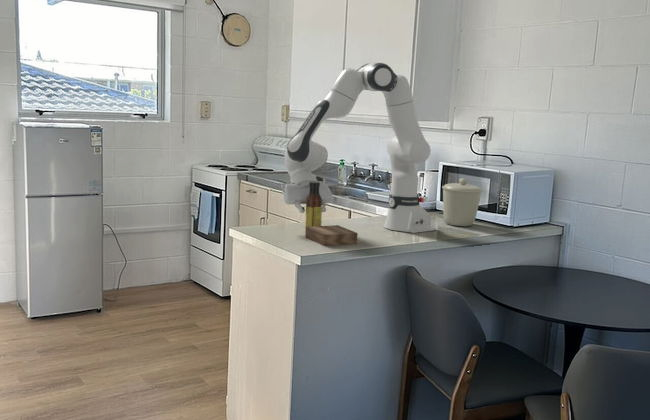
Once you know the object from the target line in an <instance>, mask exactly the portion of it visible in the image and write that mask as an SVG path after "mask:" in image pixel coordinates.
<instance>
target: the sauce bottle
mask: <svg viewBox="0 0 650 420" xmlns="http://www.w3.org/2000/svg"><path fill="white" fill-rule="evenodd" d="M309 185H310V191H309V195H308V196H307V198H306V204H305V221H304V222H305V223H304V225H305V226H304V228H305V230H306V227H310V226H322V221H323V220H322V218H323V217H322V214H323V212H322V206H323V205H322V198H321V196H320V194H319V186H320V182H317V181H311V182H309Z"/></svg>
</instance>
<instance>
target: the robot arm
mask: <svg viewBox="0 0 650 420" xmlns="http://www.w3.org/2000/svg"><path fill="white" fill-rule="evenodd" d="M364 90H366V91H370V92H381V93H382V94H383V96H384V99H385V106H386V112H387V117H388V122H389V125H390V127H391V128H392V131H393V132H394V134H395V135H393V136H391V138H389V140H388V141H387V142H386V143H387V144H386V149H387V150H386V151H387V153H388V156H389V161H390V168H391V186H390V193H389V194H388V195H389V196H388V211H387V216H386V219H385V221H384V224H383V228H385V229H387V230H393V231H396V232H405V233H411V234H415V233H424V232H432V231H436V230H437V228H436V227H435V226H434V225H432V223H431V221H432V218H431V215H430V214H429V212H428V211H426V210H425V209H424V207H422V206H421V205H420V203H424V201H425V197H419V196H418V190H419V189H418V188H419V181H420V179H419V176H418V173H417V170H416V165H418V164H423V163H425V162H426V161H427V160H428V159H429V157H430V155H431V151H432V150H431V145H430V144H429V143H428V141H427V140H426V139H425V137H424V134H423V131H422V130H421V126H420V124H419V121H418V119H417V115H416V114H417V113H416V109H415V102H414V96H413V93H412V89H411V85H410V84H409V80H408V78H407V77H406V76H404V75H400V74H396V73H395V71H394V70H393V69H392V68H391V66H389V64H386V63H383V62H370V63H366V64H363V65H362V66H361V67H359V68H358V69H355V68H345V69H344V70H342V71H341V73H340V74H339V75H338V77H337V78H336V79H335V81H334V83H333V84H332V86H331V88H330V90H329V92H328V93H327V95H326V96H325V97H324V98H323V99H322V100H319V101H318V102H317V103H316V104H315V105H314V107H313V108H312V110H310V113H308V115H307V117H306V119H305V120H304V121H303V123H302V124H301V126H300V127H299V129H298V131H296V133H295V134H294V135H293V136H292V137H291V138H290V140H289V141H288V143H287V146H286V151H285V152H284V165H285V168H286V171H287V173H288V174H289V177H290V178H289V179H290V182H284V183H282V184H281V186H280V189H281V191H282V196H283V200H284V203H285V204H286V205H294V207H296V209H297V210H298V211H299V213H300V214H302V213H306V208H305V206H302V205H306V198H307V196H308V195H309V191H310V185H309V182H311V181H317V182H320V186H319V194H320V196H321V198H322V213H326V211H327V208H326V205H327V204H330V203H331V201H332V200H333V194H332V191H331V189H330V187H329V185H328V184H326V179H325V177H322V176H319V175H316V174H314V173H312V172H314V171H316V170H318V169H320V168H322V167H323V166H324V165H325V164H326V163H327V161H328V157H329V156H328V155H329V154H328V150H327V148H326V147H325V146H323V145H322V144H320V143H318V142H315V141H313V140H312V138H313V137H314V136H315V134H316V132H317V131H318V129H319V128H320V126H321V125H322V124H323V122H324V121H325V120H328V119H339V118H344V117H346V116H348V115H349V114H350V113H351V111H352V110H353V108H354V106H355V104H356V102H357V100H358V98H359V95H360V94H361V93H362V92H363V91H364Z"/></svg>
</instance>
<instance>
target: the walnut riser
mask: <svg viewBox="0 0 650 420" xmlns="http://www.w3.org/2000/svg"><path fill="white" fill-rule="evenodd" d="M304 235H305V238H307V239H309V240H310V241H313V242H315V243H317V244H319V245H322V246H323V247H325V246H339V245H340V246H342V245H356V244H358V236H359V235H358V232H356V231H354V230H351V229H348V228H346V227H343V226H341V225H338V224H336V225H321V226H310V227H306V229H305V234H304Z"/></svg>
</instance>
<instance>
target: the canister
mask: <svg viewBox="0 0 650 420" xmlns="http://www.w3.org/2000/svg"><path fill="white" fill-rule="evenodd" d="M458 181H459V182H457V183H456V182H455V183H452V182H451V183H447V184H446V183H445V184H444V185H442V186H441V188H442V209H443V210H442V212H443V213H442V215H443V216H442V217H443V221H444V223H446V224H447V225H451V226H453V227H470V226H472V225H474V223H475V221H476V217H477V213H478V210H479V205H480V200H481V196H482V193H483V192H484V190H483V189H481V187H479V186H476V185H473V184H468V179H466V178H464V177H462V178H459V180H458Z"/></svg>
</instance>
